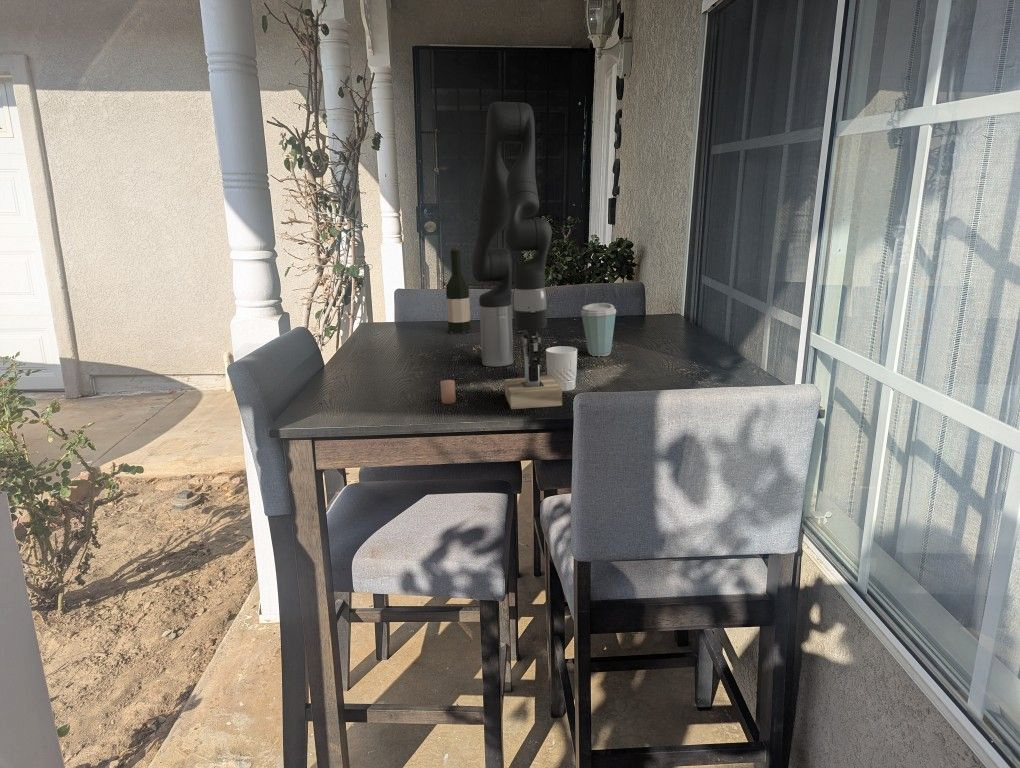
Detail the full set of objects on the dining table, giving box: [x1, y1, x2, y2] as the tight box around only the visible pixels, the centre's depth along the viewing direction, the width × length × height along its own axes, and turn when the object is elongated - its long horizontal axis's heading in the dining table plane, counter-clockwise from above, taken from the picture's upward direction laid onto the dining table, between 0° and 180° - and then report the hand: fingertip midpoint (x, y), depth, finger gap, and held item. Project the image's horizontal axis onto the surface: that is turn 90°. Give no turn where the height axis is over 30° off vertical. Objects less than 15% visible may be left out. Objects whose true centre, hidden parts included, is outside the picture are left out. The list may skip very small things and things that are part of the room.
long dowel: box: [523, 349, 540, 388], centre depth 169 cm, size 3×3×10 cm
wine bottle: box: [445, 247, 472, 333], centre depth 254 cm, size 8×8×30 cm
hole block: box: [504, 376, 563, 410], centre depth 171 cm, size 12×12×4 cm
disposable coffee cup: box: [579, 302, 617, 358], centre depth 213 cm, size 11×11×15 cm
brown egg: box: [440, 379, 457, 405], centre depth 172 cm, size 3×3×5 cm
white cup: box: [545, 345, 578, 392], centre depth 179 cm, size 8×8×10 cm
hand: (532, 378), depth 170 cm, fingers closed on long dowel, 3 cm apart
